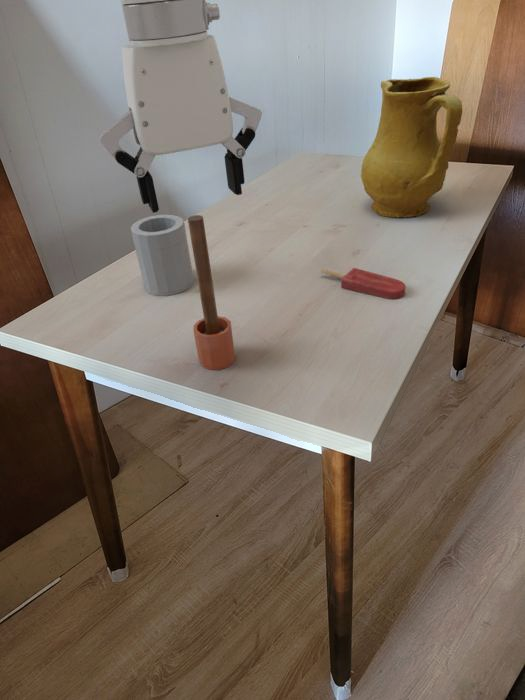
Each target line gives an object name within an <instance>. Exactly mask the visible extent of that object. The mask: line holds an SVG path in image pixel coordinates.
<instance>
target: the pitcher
mask: <svg viewBox="0 0 525 700" xmlns="http://www.w3.org/2000/svg"><path fill="white" fill-rule="evenodd" d="M380 87H381V90H382V91H381V92H382V93H381V95H382V96H381V97H382V98H381V99H382V100H381V107H380V109H381V110H380V117H379V123H378V127H377V131H376V135H375V137H374V140H373V141H372V144H371V146H370V148H369V149H368V150H367V152H366V153H365V155H364V158H363V160H362V164H361V170H360V178H361V181H362V185H363V187H364V191H365V193H366V194H367V196H368V197H370V199H372V200H373V203H372V204H371V210H372V211H373V212H374V213H376V214H378V216H382V217H384V218H385V217H387V218H396V219H399V218H401V219H402V218H404V219H405V218H410V217H411V218H413V217H420V216H422V215H424V214H427V213H429V211H430V209H431V204H430V203H429V202H428V201H429V200H430V199H431V198H432V197H433V196H434V195H435V194H437V193H438V192H440V191H442V189H443V187H444V182H445V180H446V175H447V171H448V169H449V160H450V158H451V157H452V155H453V147H454V146H455V145H456V142H457V137H458V133H459V126H460V125H461V121H462V116H463V102H462V100H461V99H460V98H459V96H457V95H456V94H451V93H449V94H448V93H446V92H447V91H448V90H449V88H450V87H451V83H450V81H448V80H446V79H443V78H440V77H437V76H426V77H422V78H408V79H407V78H406V79H402V78H401V79H400V78H399V79H398V78H391V79H387V80H382V81H381V82H380ZM442 107H443V108H444V109H445V110H446V113H445V114H446V116H445V125H444V131H443V135H442V138H441V141H439V138H438V132H437V122H438V121H437V119H438V118H437V115H438V112H439V111H440V109H441V108H442Z"/></svg>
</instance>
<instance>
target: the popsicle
mask: <svg viewBox="0 0 525 700" xmlns="http://www.w3.org/2000/svg"><path fill="white" fill-rule="evenodd" d="M320 273H322V274H325V275H329V276H333V277H338V278H340V287H341V288H342V289H346V290H349V291H354V292H357V293H358V292H359V293H363V294H366V295H371V296H375V297H380V298H384V299H389V300H390V299H391V300H394V299H400V298H402V297H403V296H405V294H406V285H405V283H404V282H403V281H402V280H399V279H397V278H394V277H390V276H386V275H383V274H379V273H374V272H371V271H367V270H364V269H360V268H357V267H353V268H351V270H349V271H348V272H347V273H346V274H344V273H339V272H335V271H332V270H327V269H321V270H320Z"/></svg>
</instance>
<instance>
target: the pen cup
mask: <svg viewBox="0 0 525 700" xmlns="http://www.w3.org/2000/svg"><path fill="white" fill-rule="evenodd" d="M218 322H219V328H221V329H222V330H223V331H222V332H220V333H218V334H211V335H207V334H204V331H205V330H206V327H205V321H204V317H203V318H201V319H199V320H197V321H196V323H194V324H193V330H192V331H193V336H194V342H195V347H196V353H197V359H198V361H199V364H200V366H201V367H203V368H204V369H207V370H209V371H217V370H223V369H226V368H228V367H230V366H231V365H232V364H233V363H234V362H235V360H236V353H235V352H236V351H235V345H234V336H233V329H232V321H231V320H230V319H228V318H227V317H225V316H220V315H218Z"/></svg>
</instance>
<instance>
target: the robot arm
mask: <svg viewBox="0 0 525 700" xmlns="http://www.w3.org/2000/svg"><path fill="white" fill-rule="evenodd" d="M120 2H121V4H122V5H121V8H122V13H123V17H124V22H125V27H126V32H127V38H128V42H129V43H128V44H125V45H124V44H123V45H122V46H121V60H122V73H123V81H124V89H125V96H126V102H127V108H128V111H127V112H126V113H125V114H123V115H122V116H121V117H120V118H118V119H117V120H116V121H115V122H113V123H112V124H110V126H109V127H107V128H106V129H105V130H104V131H103V132H101V133H100V135H99V140H100V142H101V144H102V146H103V147H104V148H105V149H106V151H108V153H109V154H110V155H111V157H113V158H114V160H115V161H116V162H117V164H119V165H121V166H122V167H124V168H125V169H127V170H128V171H129V172H131V173H132V174H134V175H135V177H136V182H137V186H138V190H139V195H140V199H141V202H142V204H143V205H147V204H148V207H149V208H150V211H151V212H152V214H154V213H158V211H160V208H159V202H158V198H157V192H156V188H155V183H154V178H153V175H152V174H151V172H149V169H150V167H151V164H152V163H153V161H154V159H155V157H156V156H161V155H162V156H163V155H169V154H174V153H180V152H186V151H190V150H191V151H192V150H196V149H200V148H201V149H202V148H206V147H211V146H217V145H222V146H223V147H224V148H225V149H226V153H225V155H224V156H223V157H224V166H225V172H226V181H227V187H228V190H230V192H231V193H233V194H234V195H236V196H241V195H242V194H243V191H242V190H243V189H242V185H244V184H245V171H244V164H243V163H244V162H243V158H244V157H245V156H246V152H247V149H248V148H249V146H250V145H251V144H252V142H253V141H254V140H255V137H256V131H257V129H258V127H259V125H260V120H261V119H262V114H263V113H262V111H261V109H259V108H258V107H257V108H256V107H255V106H252V105H250V104H247V103H245V102H243V101H240V100H238V99H235V98H233V97H230V96H229V91H228V86H227V81H226V76H225V71H224V66H223V63H222V59H221V54H220V52H219V48H218V45H217V41H216V39H215V35H212V34H208V31H209V30H210V29H209V25H210V23H212V22H213V21H219V20H220V8H219V5H218V3H212V4H211V3H210V2H207V1H206V0H120ZM232 113H234V114H237V115H239V116H242V117H243V119H244V121H243V125H242V127H241V129H240V130H239V131H238V133H237V135H236V136H235V137H233V133H234V123H233V114H232ZM131 130H132V134H133V137H134V141H135V142H136V144H137V145H139V146H138V148H137V150H136V152H135V154H134V155H131V154H130V153H128V152H127V151H126V150H124V149H123V148H122V147H121V145H120V144H119V140H120V139H121V138H123V137H124V136H125V135H126V134H128V133H129V132H130V131H131Z"/></svg>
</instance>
